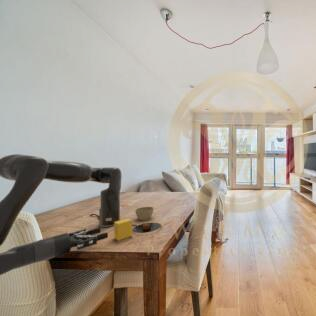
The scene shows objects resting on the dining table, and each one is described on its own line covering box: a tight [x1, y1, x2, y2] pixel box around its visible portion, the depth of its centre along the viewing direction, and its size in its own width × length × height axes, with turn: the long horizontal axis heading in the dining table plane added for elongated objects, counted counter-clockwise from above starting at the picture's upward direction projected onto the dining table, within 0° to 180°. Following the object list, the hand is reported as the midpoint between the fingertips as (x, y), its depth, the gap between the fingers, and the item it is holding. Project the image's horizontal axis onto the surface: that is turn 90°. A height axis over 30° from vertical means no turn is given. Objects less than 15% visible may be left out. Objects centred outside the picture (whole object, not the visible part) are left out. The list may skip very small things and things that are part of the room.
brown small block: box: [142, 222, 151, 229], centre depth 97 cm, size 3×3×2 cm
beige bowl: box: [135, 206, 154, 221], centre depth 112 cm, size 10×10×7 cm
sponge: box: [113, 218, 133, 242], centre depth 86 cm, size 4×6×9 cm
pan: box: [132, 222, 162, 234], centre depth 99 cm, size 21×14×2 cm
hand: (103, 232), depth 80 cm, fingers open, 8 cm apart
